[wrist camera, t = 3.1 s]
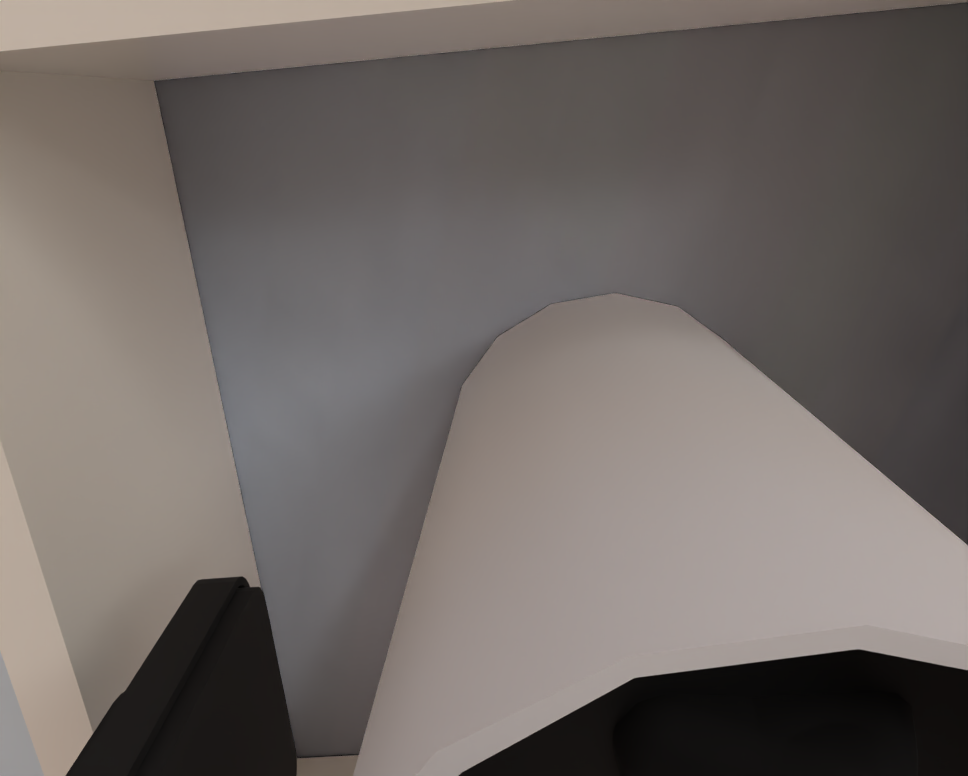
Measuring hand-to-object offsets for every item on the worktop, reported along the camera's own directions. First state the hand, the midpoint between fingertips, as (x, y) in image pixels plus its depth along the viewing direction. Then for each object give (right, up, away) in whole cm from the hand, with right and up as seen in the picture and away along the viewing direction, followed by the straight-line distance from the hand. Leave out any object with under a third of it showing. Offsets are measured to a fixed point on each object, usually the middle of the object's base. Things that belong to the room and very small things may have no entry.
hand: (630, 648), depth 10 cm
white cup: (0, +2, +5) cm, 6 cm away
